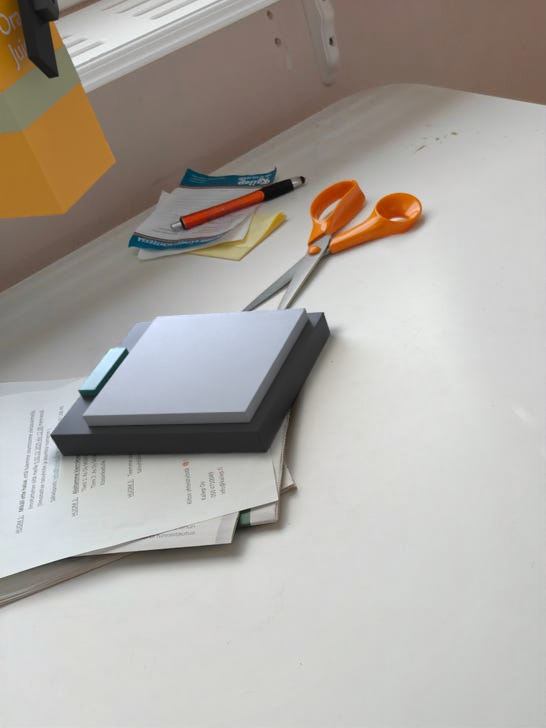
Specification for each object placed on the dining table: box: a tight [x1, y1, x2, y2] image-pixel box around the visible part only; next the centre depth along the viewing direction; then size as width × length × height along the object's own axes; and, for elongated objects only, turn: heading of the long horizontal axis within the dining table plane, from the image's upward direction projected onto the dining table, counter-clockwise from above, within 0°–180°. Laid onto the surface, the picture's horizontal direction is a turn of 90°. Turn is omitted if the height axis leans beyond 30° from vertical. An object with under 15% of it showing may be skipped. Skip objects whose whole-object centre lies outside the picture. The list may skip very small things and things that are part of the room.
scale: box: [49, 307, 331, 456], centre depth 78 cm, size 18×16×3 cm
